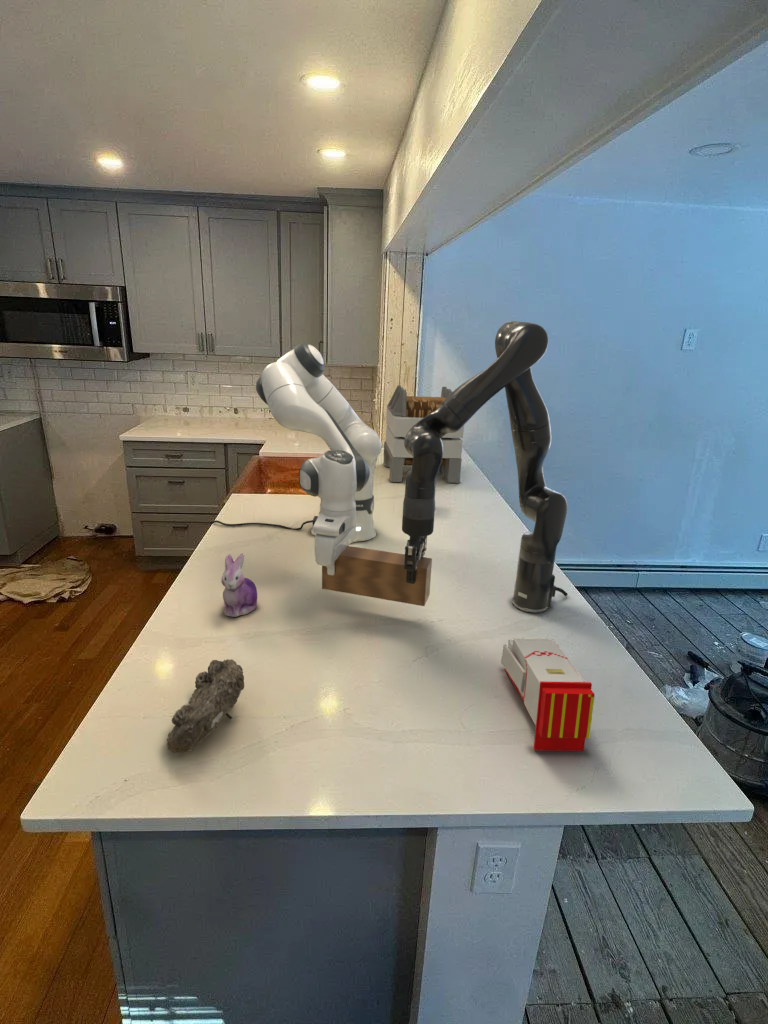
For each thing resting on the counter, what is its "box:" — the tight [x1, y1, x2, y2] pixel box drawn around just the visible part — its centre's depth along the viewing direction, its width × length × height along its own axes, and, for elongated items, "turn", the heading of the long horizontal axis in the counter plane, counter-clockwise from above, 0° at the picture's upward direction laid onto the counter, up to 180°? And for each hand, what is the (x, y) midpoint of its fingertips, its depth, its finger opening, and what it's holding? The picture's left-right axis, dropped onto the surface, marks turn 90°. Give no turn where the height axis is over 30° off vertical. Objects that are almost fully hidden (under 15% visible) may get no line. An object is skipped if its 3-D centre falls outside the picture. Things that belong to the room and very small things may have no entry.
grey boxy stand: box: [383, 384, 465, 484], centre depth 268 cm, size 34×33×41 cm
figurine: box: [220, 553, 258, 618], centre depth 144 cm, size 9×10×15 cm
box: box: [321, 545, 433, 607], centre depth 142 cm, size 27×6×10 cm, turn 74°
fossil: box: [166, 658, 245, 754], centre depth 106 cm, size 22×10×15 cm
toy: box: [500, 637, 595, 752], centre depth 114 cm, size 12×13×30 cm
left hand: (336, 567), depth 144 cm, fingers closed on box, 6 cm apart
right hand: (414, 576), depth 139 cm, fingers open, 7 cm apart
